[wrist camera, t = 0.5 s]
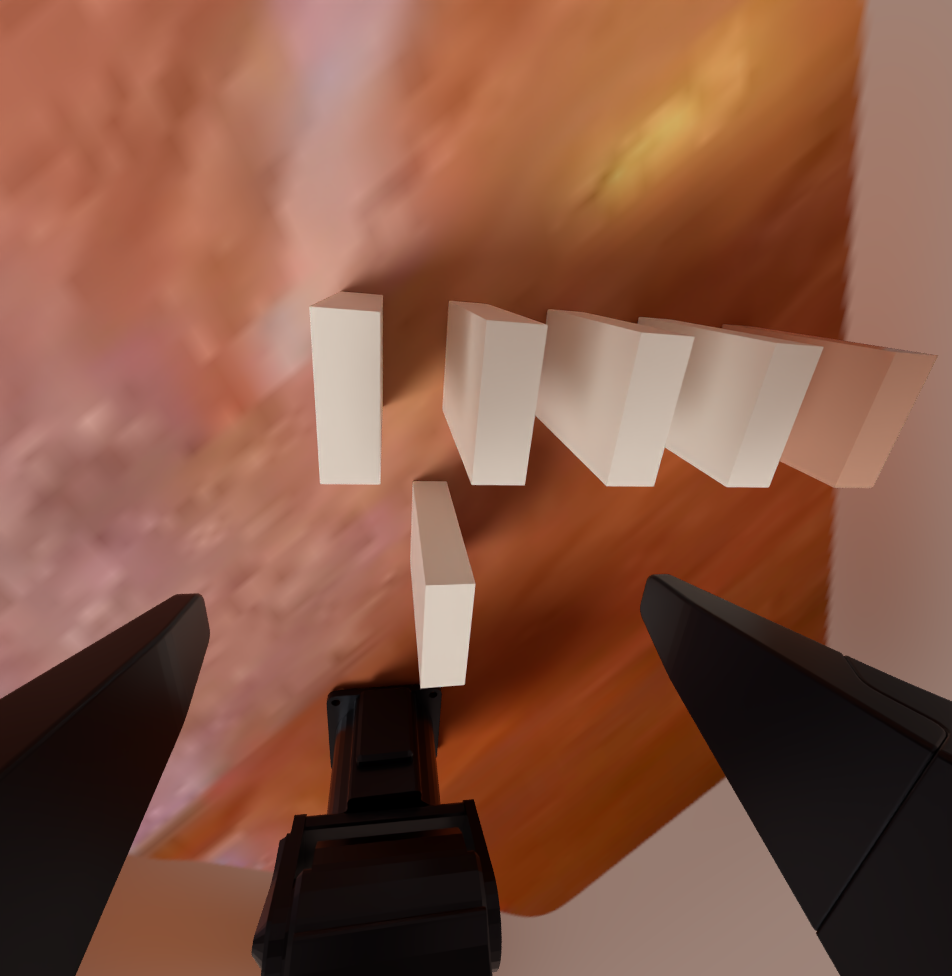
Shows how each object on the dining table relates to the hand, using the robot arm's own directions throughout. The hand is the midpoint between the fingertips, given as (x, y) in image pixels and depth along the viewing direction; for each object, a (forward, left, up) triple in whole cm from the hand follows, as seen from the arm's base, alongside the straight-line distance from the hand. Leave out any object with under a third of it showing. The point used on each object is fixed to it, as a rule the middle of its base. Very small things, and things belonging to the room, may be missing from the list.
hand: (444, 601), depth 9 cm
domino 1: (+3, +2, -12) cm, 13 cm away
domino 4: (+3, -6, -12) cm, 14 cm away
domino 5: (+3, -10, -12) cm, 16 cm away
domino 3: (+3, -2, -12) cm, 13 cm away
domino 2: (-5, -1, -12) cm, 14 cm away
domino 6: (+3, -15, -12) cm, 19 cm away
